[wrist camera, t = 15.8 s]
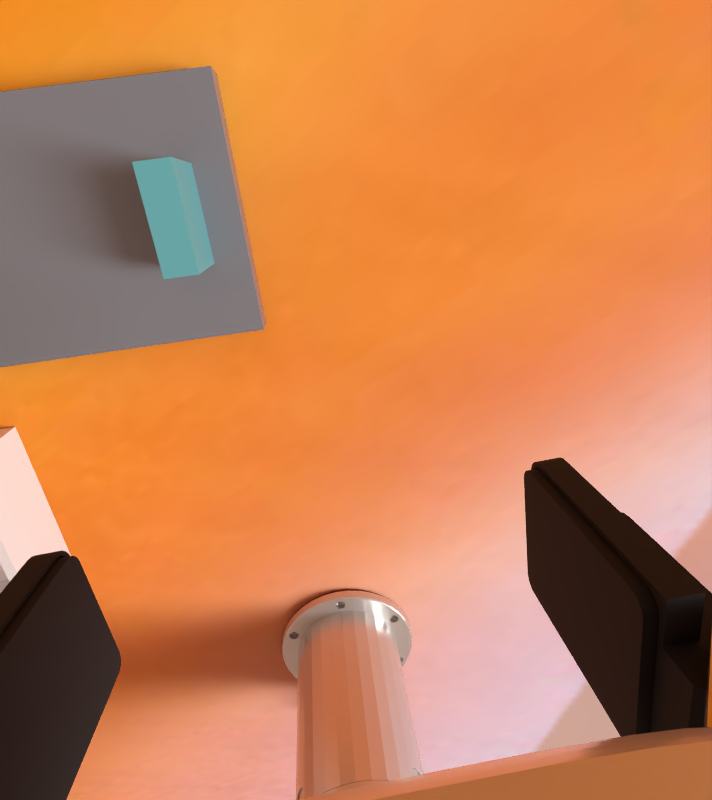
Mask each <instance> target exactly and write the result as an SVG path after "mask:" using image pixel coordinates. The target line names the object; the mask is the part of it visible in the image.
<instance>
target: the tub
mask: <svg viewBox="0 0 712 800" xmlns="http://www.w3.org/2000/svg"><path fill="white" fill-rule="evenodd" d="M56 551H66V552H67V553H68V554H69V555H70V553H69V550H68V548H67V546H66V543H65V541H64V539H63V536H62V534H61V532H60V529H59V527H58V525H57V522H56V520H55V518H54V516H53V513H52V511H51V509H50V506H49V504H48V502H47V499H46V497H45V495H44V492H43V490H42V488H41V485H40V483H39V481H38V478H37V476H36V474H35V471H34V469H33V467H32V465H31V462H30V460H29V458H28V455H27V453H26V451H25V448H24V446H23V444H22V441H21V439H20V437H19V434H18V432H17V430H16V427H10V428H3V429H0V593H1V592H2V591H3V589H4V588H5V587H6V586H7V585H8V583H9V582H10V581H11V580H12V579H13V577H14V576H15V575H16V574H17V572H18V571H19V570H20V569H21V568H22V566H23V565H24V564H25V563H26V561H27V560H28V559H29V558H31V557H32V556H35V555H40V554H46V553H51V552H56ZM70 556H71V555H70Z"/></svg>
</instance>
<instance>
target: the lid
mask: <svg viewBox="0 0 712 800" xmlns="http://www.w3.org/2000/svg"><path fill="white" fill-rule="evenodd" d="M265 324H266V321H265V316H264V311H263V306H262V301H261V296H260V291H259V286H258V281H257V276H256V271H255V266H254V261H253V256H252V251H251V246H250V241H249V236H248V231H247V226H246V221H245V216H244V210H243V205H242V200H241V195H240V190H239V185H238V180H237V175H236V170H235V165H234V160H233V155H232V150H231V145H230V140H229V135H228V130H227V125H226V120H225V115H224V110H223V105H222V100H221V95H220V90H219V84H218V79H217V74H216V73H215V71H214V70H213V69H212V67H211V66H207V67H199V68H191V69H182V70H174V71H166V72H158V73H150V74H142V75H134V76H125V77H117V78H109V79H101V80H93V81H85V82H77V83H68V84H60V85H52V86H44V87H36V88H28V89H19V90H11V91H3V92H0V367H6V366H13V365H20V364H27V363H34V362H41V361H48V360H55V359H62V358H69V357H75V356H82V355H89V354H96V353H103V352H110V351H117V350H124V349H131V348H138V347H145V346H152V345H159V344H166V343H173V342H179V341H186V340H193V339H200V338H207V337H214V336H221V335H228V334H235V333H242V332H249V331H256V330H263V329H264V327H265Z"/></svg>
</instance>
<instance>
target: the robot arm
mask: <svg viewBox="0 0 712 800" xmlns="http://www.w3.org/2000/svg"><path fill="white" fill-rule="evenodd" d="M524 488H525V512H526V537H527V562H528V577H529V581H530V585H531V587H532V590H533V591H534V593H535V595H536V597H537V598H538V600H539V602H540V603H541V605H542V607H543V608H544V610H545V612H546V613H547V615H548V617H549V618H550V620H551V622H552V623H553V625H554V626H555V628H556V630H557V631H558V633H559V635H560V636H561V638H562V640H563V641H564V643H565V645H566V646H567V648H568V650H569V651H570V653H571V655H572V656H573V658H574V660H575V661H576V663H577V665H578V666H579V668H580V670H581V671H582V673H583V675H584V676H585V678H586V680H587V681H588V683H589V684H590V686H591V688H592V689H593V691H594V693H595V694H596V696H597V698H598V699H599V701H600V703H601V704H602V706H603V708H604V709H605V711H606V713H607V714H608V716H609V718H610V719H611V721H612V723H613V724H614V726H615V728H616V729H617V731H618V733H619V734H620V736H621V737H618V738H612V739H607V740H601V741H596V742H590V743H584V744H579V745H573V746H567V747H562V748H556V749H551V750H545V751H539V752H534V753H528V754H523V755H518V756H513V757H508V758H503V759H498V760H493V761H488V762H483V763H478V764H473V765H468V766H462V767H457V768H452V769H447V770H442V771H437V772H432V773H427V774H424V773H423V768H422V763H421V758H420V753H419V748H418V743H417V739H416V734H415V729H414V724H413V719H412V714H411V709H410V704H409V699H408V695H407V690H406V685H405V680H404V675H403V670H402V666H403V665H404V663H405V662H406V660H407V658H408V656H409V654H410V650H411V646H412V635H411V630H410V625H409V623H408V620H407V618H406V616H405V614H404V613H403V612H402V610H401V609H400V608H399V607H398V606H397V605H396V604H394V603H393V602H392V601H390V600H388V599H387V598H385V597H383V596H380V595H377V594H374V593H370V592H364V591H341V592H334V593H331V594H327V595H324V596H321V597H319V598H317V599H315V600H312V601H311V602H309V603H308V604H306V605H305V606H303V607H302V608H301V609H300V610H299V611H298V612H296V613H295V614H294V615H293V617H292V618H291V620H290V621H289V623H288V624H287V626H286V629H285V631H284V635H283V642H282V655H283V659H284V663H285V665H286V666H287V668H288V670H289V672H290V673H291V674H292V675H293V676H294V677H295V678H296V679H297V680H298V707H297V767H296V800H712V593H711V592H710V591H708V590H707V589H706V588H705V587H704V586H703V585H702V584H701V583H700V582H699V581H698V580H697V579H696V578H694V577H693V576H692V575H691V574H690V573H689V572H688V571H687V570H686V569H685V568H684V567H683V566H682V565H680V564H679V563H678V562H677V561H676V560H675V559H674V558H673V557H672V556H671V555H670V554H669V553H668V552H666V551H665V550H664V549H663V548H662V547H661V546H660V545H659V544H658V543H657V542H656V541H655V540H654V539H653V538H651V537H650V536H649V535H648V534H647V533H646V532H645V531H644V530H643V529H642V528H641V527H640V526H639V525H637V524H636V523H635V522H634V521H633V520H632V519H631V518H630V517H629V516H627V515H626V514H624V513H621V512H620V511H618V510H617V509H616V508H615V507H614V506H613V505H612V504H611V503H610V502H609V501H608V500H607V499H606V498H605V497H604V496H603V495H601V494H600V493H599V492H598V491H597V490H596V489H595V488H594V487H593V486H592V485H591V484H590V483H589V482H588V481H587V480H586V479H584V478H583V477H582V476H581V475H580V474H579V473H578V472H577V471H576V470H575V469H574V468H573V467H572V466H571V465H570V464H569V463H567V462H566V461H565V460H564V459H563V458H555V459H550V460H544V461H539V462H534V463H533V464H532V467H531V470H529V471H526V472H525V474H524ZM120 666H121V657H120V653H119V650H118V648H117V645H116V643H115V641H114V639H113V636H112V634H111V632H110V629H109V627H108V625H107V623H106V620H105V618H104V616H103V614H102V611H101V609H100V607H99V604H98V602H97V600H96V598H95V595H94V593H93V591H92V589H91V586H90V584H89V582H88V579H87V577H86V575H85V573H84V570H83V568H82V566H81V564H80V561H79V560H78V558H77V557H75V556H70V555H69V554H68V553H67V552H66V551H56V552H51V553H46V554H40V555H35V556H32V557H31V558H29V559H28V560H27V561H26V563H25V564H24V565H23V566H22V568H21V569H20V570H19V571H18V572H17V574H16V575H15V576H14V577H13V579H12V580H11V581H10V582H9V583H8V585H7V586H6V587H5V588H4V589H3V591H2V592H1V593H0V800H66V799H67V797H68V794H69V792H70V789H71V787H72V785H73V782H74V780H75V777H76V775H77V773H78V770H79V768H80V765H81V763H82V761H83V758H84V756H85V753H86V751H87V749H88V746H89V744H90V741H91V739H92V737H93V734H94V732H95V729H96V727H97V725H98V722H99V720H100V717H101V715H102V713H103V710H104V708H105V705H106V703H107V700H108V698H109V696H110V693H111V691H112V688H113V686H114V684H115V681H116V679H117V676H118V674H119V671H120Z"/></svg>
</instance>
